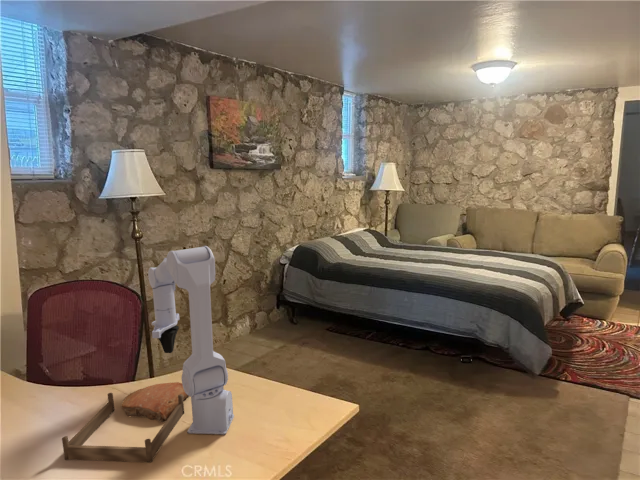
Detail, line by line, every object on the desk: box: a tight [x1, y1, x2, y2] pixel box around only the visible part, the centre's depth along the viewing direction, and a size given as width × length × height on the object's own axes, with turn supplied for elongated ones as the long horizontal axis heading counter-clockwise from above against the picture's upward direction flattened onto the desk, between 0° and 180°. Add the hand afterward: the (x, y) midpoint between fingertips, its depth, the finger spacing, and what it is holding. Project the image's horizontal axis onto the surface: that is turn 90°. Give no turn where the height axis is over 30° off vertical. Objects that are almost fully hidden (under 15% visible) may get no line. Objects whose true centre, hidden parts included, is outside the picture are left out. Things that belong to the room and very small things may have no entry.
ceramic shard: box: [120, 381, 189, 423], centre depth 123 cm, size 15×6×15 cm
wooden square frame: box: [61, 392, 185, 464], centre depth 110 cm, size 20×20×5 cm
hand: (168, 352), depth 134 cm, fingers closed
